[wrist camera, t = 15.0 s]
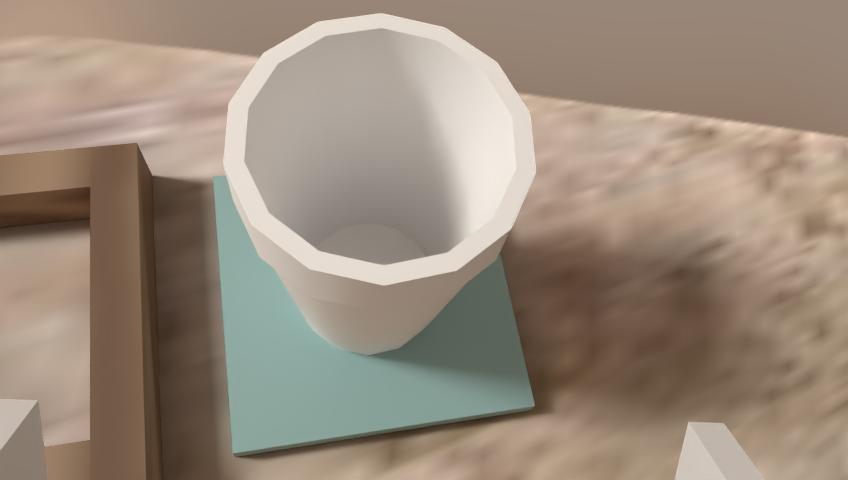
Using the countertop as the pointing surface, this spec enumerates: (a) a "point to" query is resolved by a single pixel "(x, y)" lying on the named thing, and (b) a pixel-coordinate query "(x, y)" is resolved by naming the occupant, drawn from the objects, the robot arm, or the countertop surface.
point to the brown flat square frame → (103, 298)
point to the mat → (356, 358)
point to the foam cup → (377, 172)
